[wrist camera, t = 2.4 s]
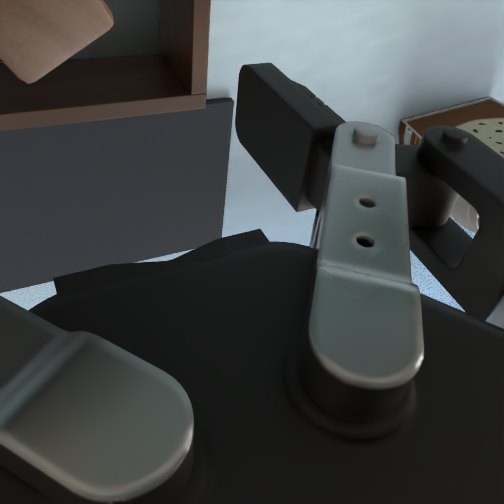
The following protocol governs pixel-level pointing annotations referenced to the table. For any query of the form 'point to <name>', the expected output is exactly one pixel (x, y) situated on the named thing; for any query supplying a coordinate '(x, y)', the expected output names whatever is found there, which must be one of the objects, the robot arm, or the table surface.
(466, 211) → the food container
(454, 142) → the robot arm
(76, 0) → the wooden block
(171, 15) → the crate
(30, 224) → the mat
